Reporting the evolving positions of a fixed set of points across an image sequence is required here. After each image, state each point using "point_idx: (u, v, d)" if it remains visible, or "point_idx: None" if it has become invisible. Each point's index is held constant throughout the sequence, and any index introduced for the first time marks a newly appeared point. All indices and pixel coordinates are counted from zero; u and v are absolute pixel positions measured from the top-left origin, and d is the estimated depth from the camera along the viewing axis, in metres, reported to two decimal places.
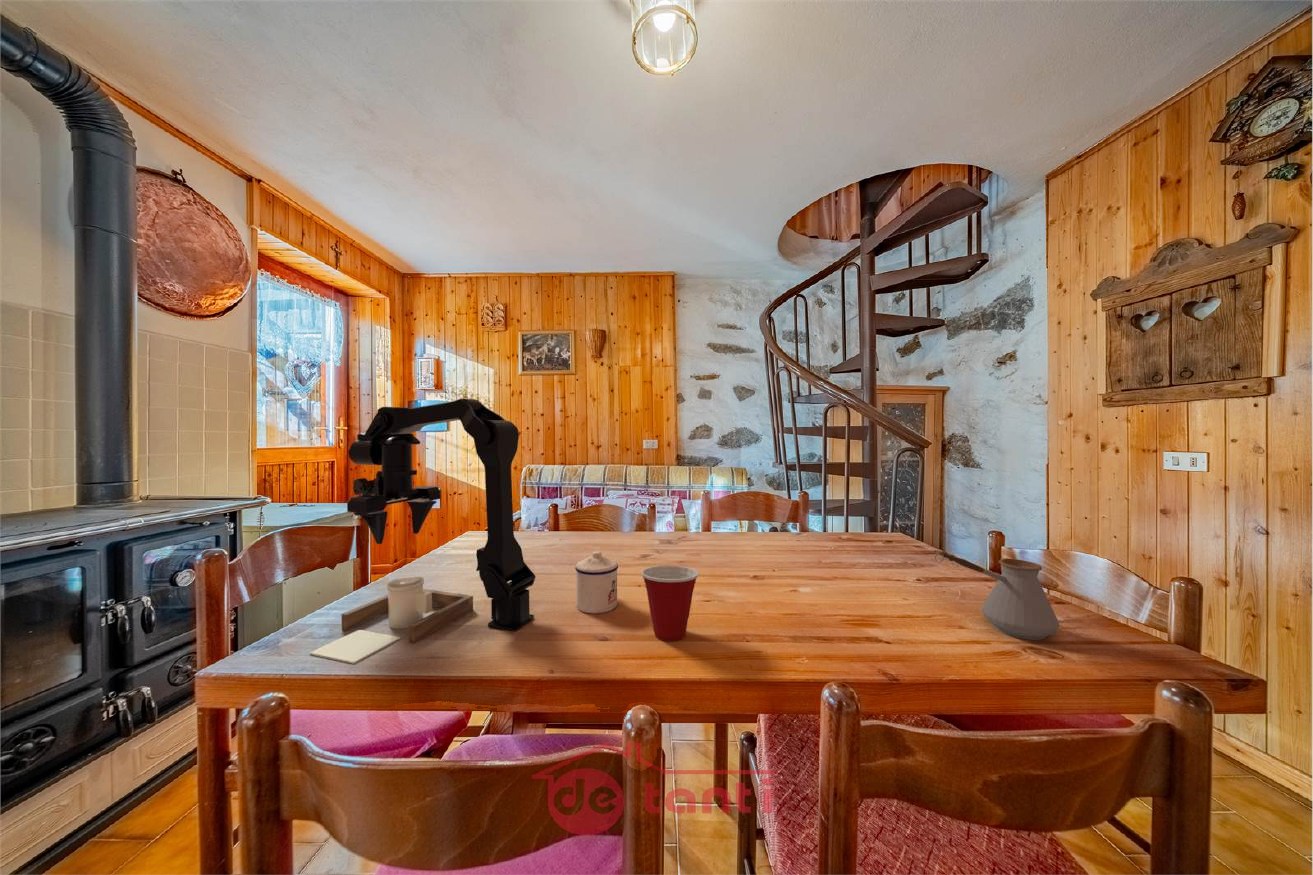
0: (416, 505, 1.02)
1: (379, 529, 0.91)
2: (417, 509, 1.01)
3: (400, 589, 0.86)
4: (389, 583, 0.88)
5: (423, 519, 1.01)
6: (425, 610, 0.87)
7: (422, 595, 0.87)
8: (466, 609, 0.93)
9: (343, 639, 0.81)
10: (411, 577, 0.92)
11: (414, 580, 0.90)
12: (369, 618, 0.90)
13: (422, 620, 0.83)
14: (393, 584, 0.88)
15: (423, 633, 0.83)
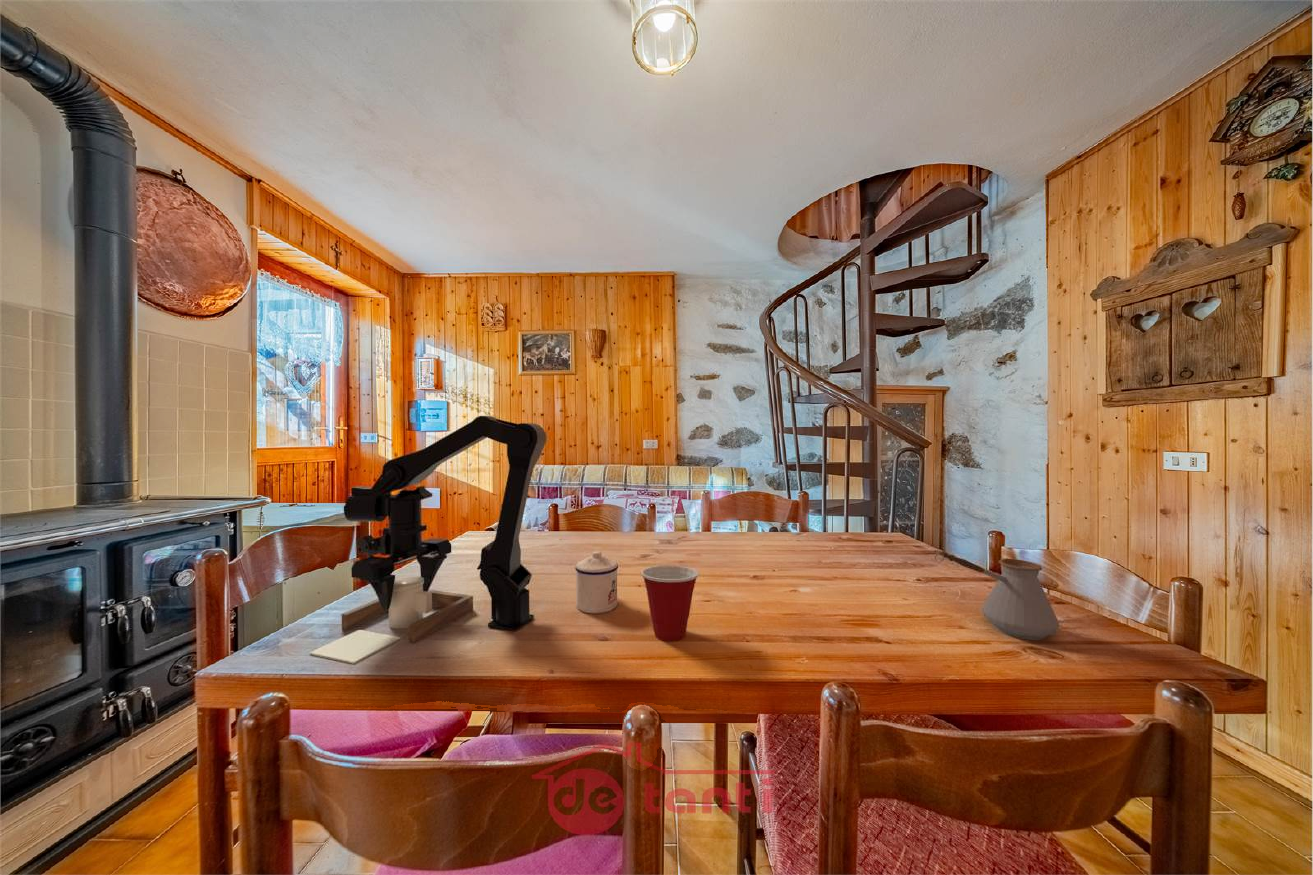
0: (426, 561, 0.94)
1: (386, 594, 0.83)
2: (426, 565, 0.94)
3: (400, 589, 0.86)
4: None
5: (433, 576, 0.94)
6: (425, 610, 0.87)
7: (422, 595, 0.87)
8: (466, 609, 0.93)
9: (343, 639, 0.81)
10: (411, 577, 0.92)
11: (414, 580, 0.90)
12: (369, 618, 0.90)
13: (422, 620, 0.83)
14: None
15: (423, 633, 0.83)
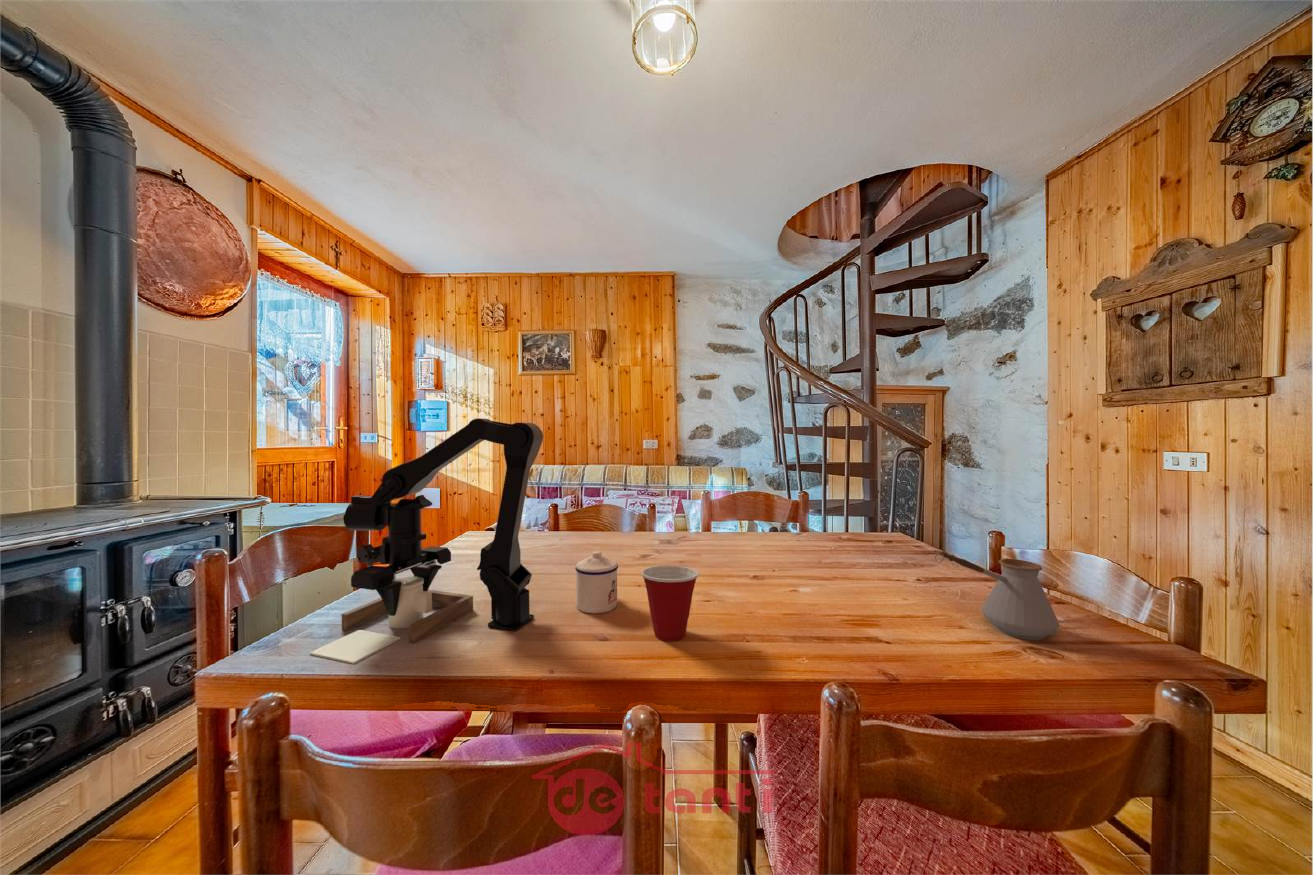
0: (420, 571, 0.93)
1: (392, 601, 0.85)
2: (420, 576, 0.92)
3: (400, 589, 0.86)
4: None
5: (427, 587, 0.92)
6: (425, 610, 0.87)
7: (422, 595, 0.87)
8: (466, 609, 0.93)
9: (343, 639, 0.81)
10: (411, 577, 0.92)
11: (414, 579, 0.90)
12: (369, 618, 0.90)
13: (422, 620, 0.83)
14: None
15: (423, 633, 0.83)
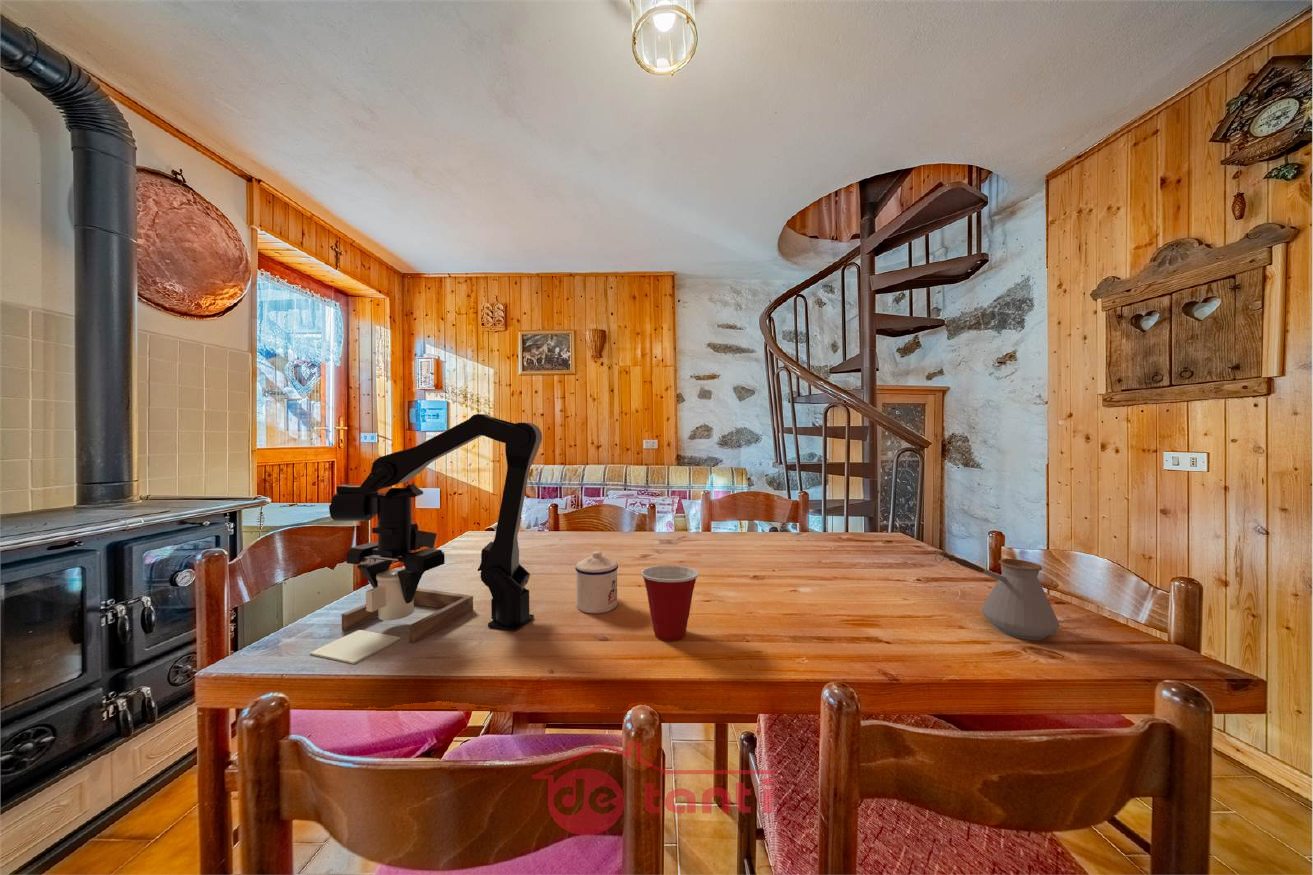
0: None
1: None
2: None
3: None
4: (398, 568, 0.90)
5: (403, 589, 0.84)
6: None
7: None
8: (466, 609, 0.93)
9: (343, 639, 0.81)
10: None
11: (397, 574, 0.86)
12: (369, 618, 0.90)
13: (422, 620, 0.83)
14: (392, 570, 0.89)
15: (423, 633, 0.83)
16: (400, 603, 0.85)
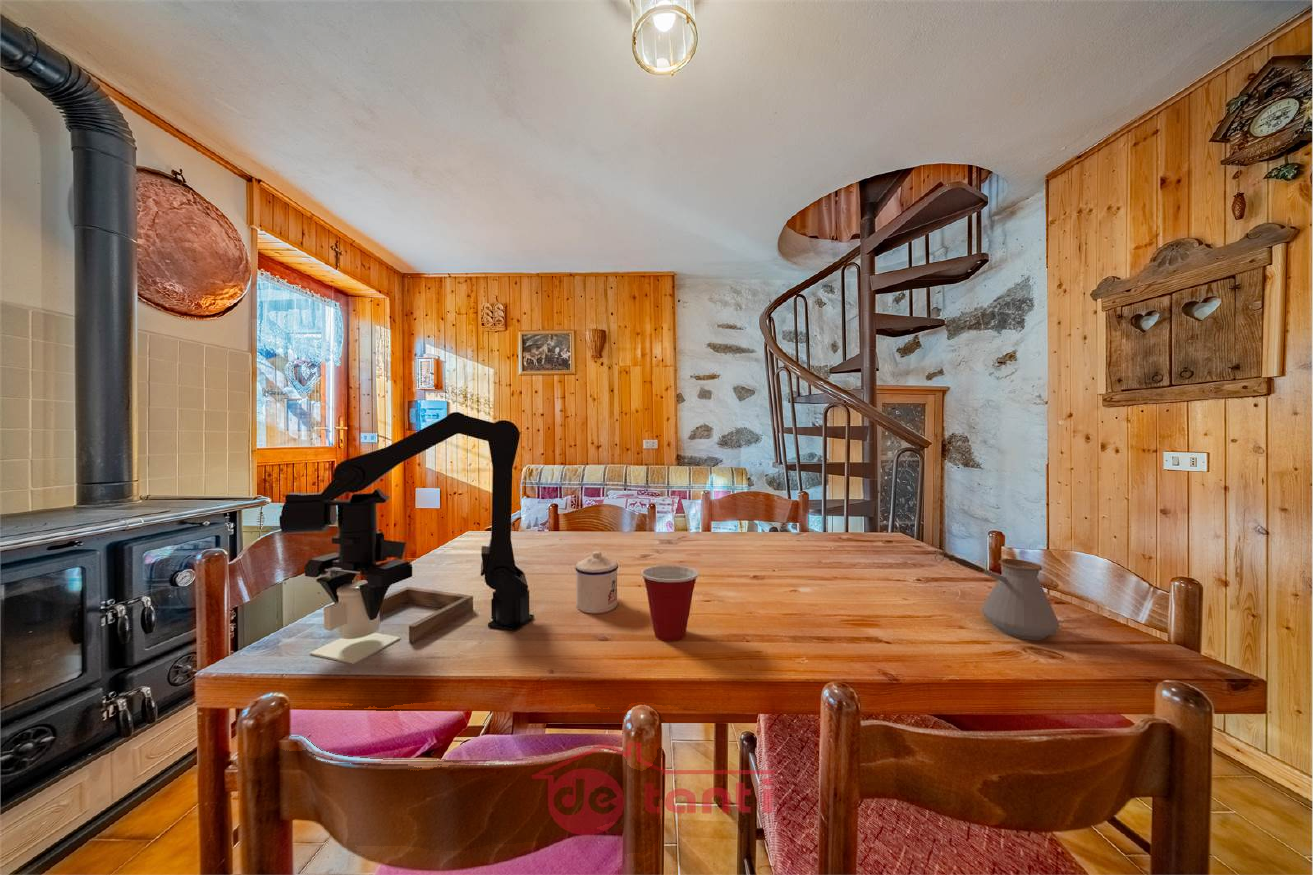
0: None
1: None
2: None
3: None
4: (363, 581, 0.82)
5: (366, 604, 0.77)
6: None
7: None
8: (466, 609, 0.93)
9: (343, 639, 0.81)
10: None
11: (359, 588, 0.79)
12: None
13: (422, 620, 0.83)
14: (356, 583, 0.81)
15: (423, 633, 0.83)
16: (362, 620, 0.78)
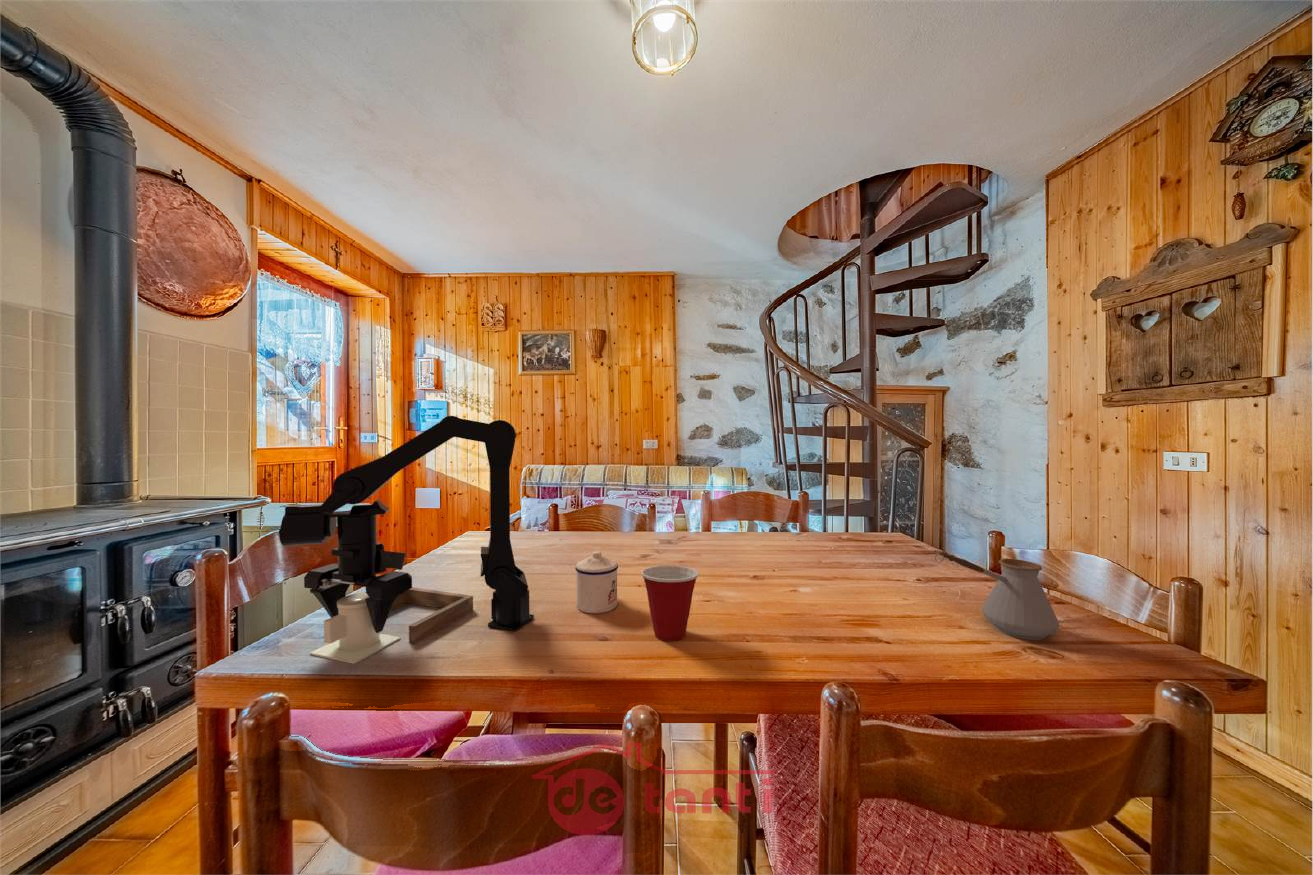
0: None
1: None
2: None
3: None
4: (363, 592, 0.82)
5: (372, 617, 0.77)
6: None
7: None
8: (466, 609, 0.93)
9: None
10: None
11: (360, 601, 0.78)
12: None
13: (422, 620, 0.83)
14: (355, 595, 0.81)
15: (423, 633, 0.83)
16: (362, 632, 0.78)
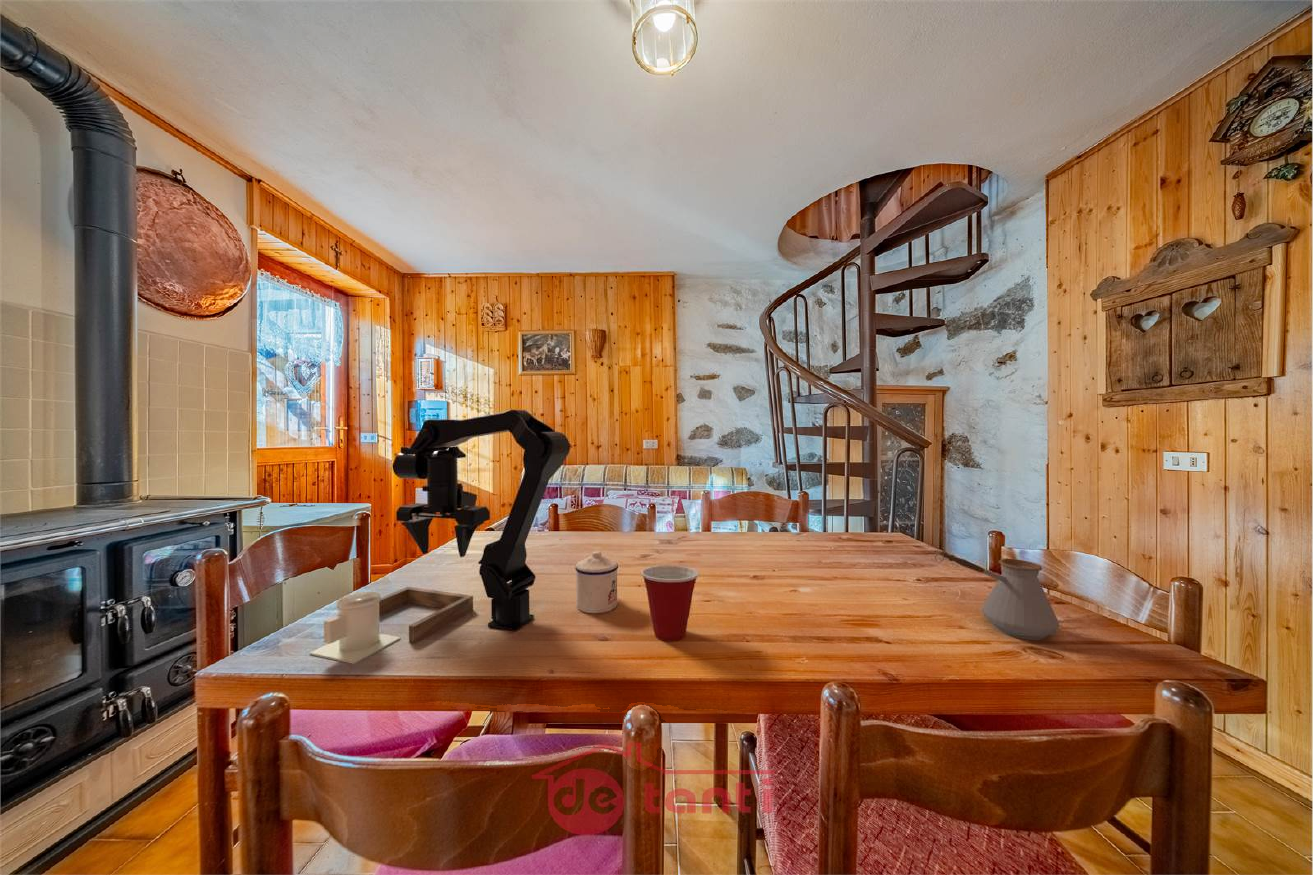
0: None
1: None
2: None
3: None
4: (363, 592, 0.82)
5: (458, 543, 0.91)
6: None
7: None
8: (466, 609, 0.93)
9: None
10: (373, 598, 0.80)
11: (360, 601, 0.78)
12: None
13: (422, 620, 0.83)
14: (355, 595, 0.81)
15: (423, 633, 0.83)
16: (362, 632, 0.78)
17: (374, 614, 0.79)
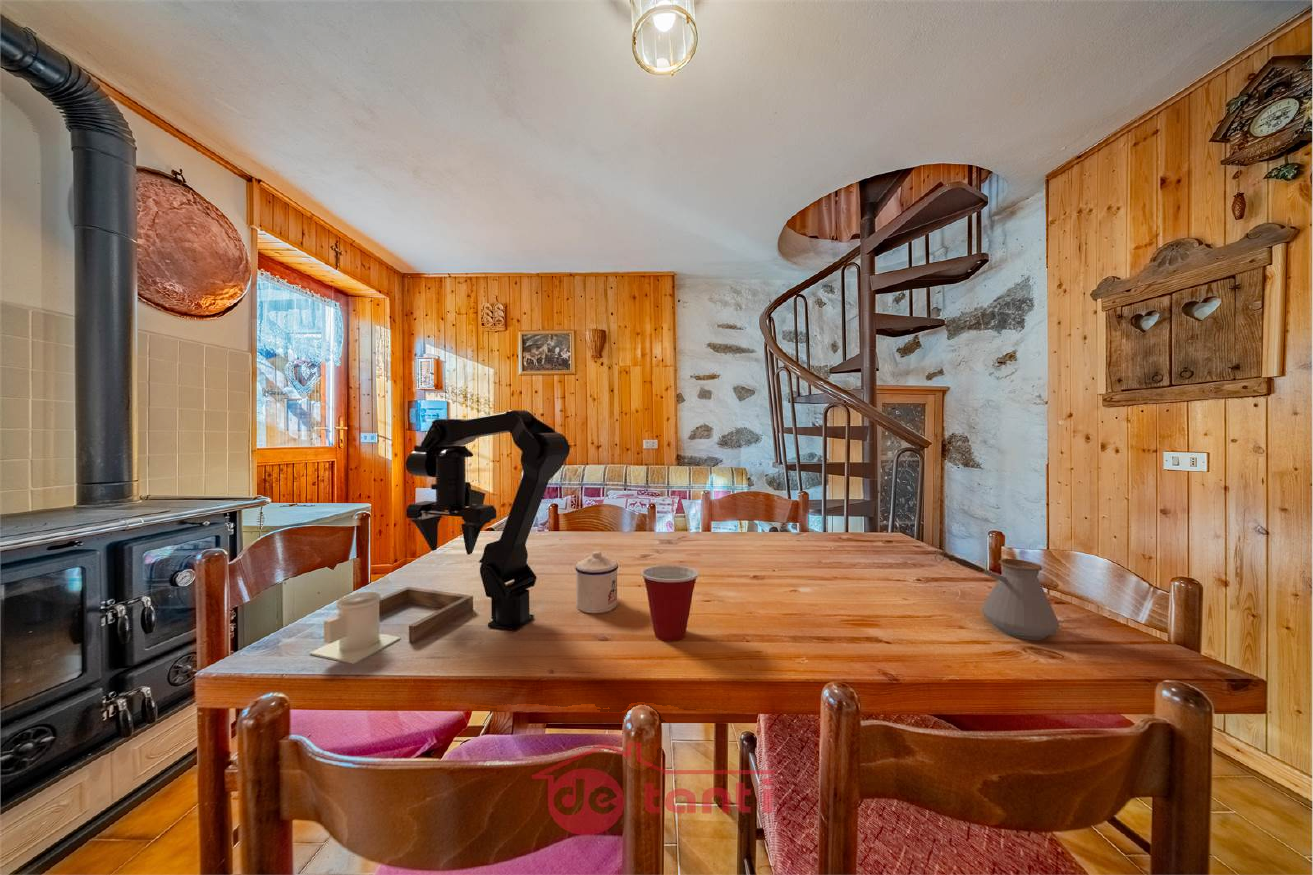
0: None
1: None
2: None
3: None
4: (363, 592, 0.82)
5: (465, 540, 0.92)
6: None
7: None
8: (466, 609, 0.93)
9: None
10: (373, 598, 0.80)
11: (360, 601, 0.78)
12: None
13: (422, 620, 0.83)
14: (356, 595, 0.81)
15: (423, 633, 0.83)
16: (363, 632, 0.78)
17: (374, 614, 0.79)
